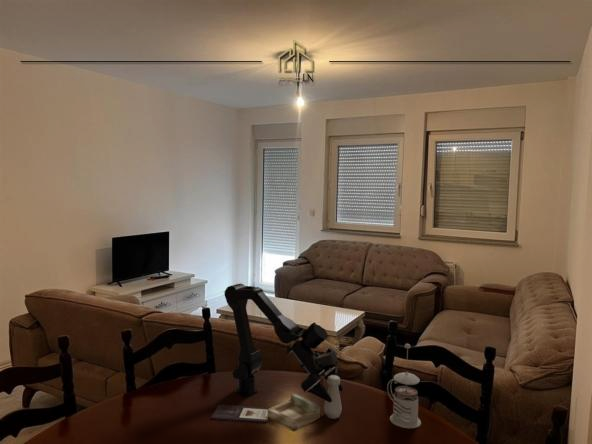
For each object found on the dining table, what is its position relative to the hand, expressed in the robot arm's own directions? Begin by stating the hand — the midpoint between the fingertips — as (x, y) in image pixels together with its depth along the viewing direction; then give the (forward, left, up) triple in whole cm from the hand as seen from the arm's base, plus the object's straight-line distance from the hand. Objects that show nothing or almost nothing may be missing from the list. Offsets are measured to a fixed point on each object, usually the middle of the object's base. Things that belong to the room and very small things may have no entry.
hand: (336, 395), depth 139 cm
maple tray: (-9, -10, -7) cm, 15 cm away
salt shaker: (-1, 0, -7) cm, 7 cm away
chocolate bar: (-22, -21, -7) cm, 32 cm away
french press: (+16, +15, -7) cm, 23 cm away
